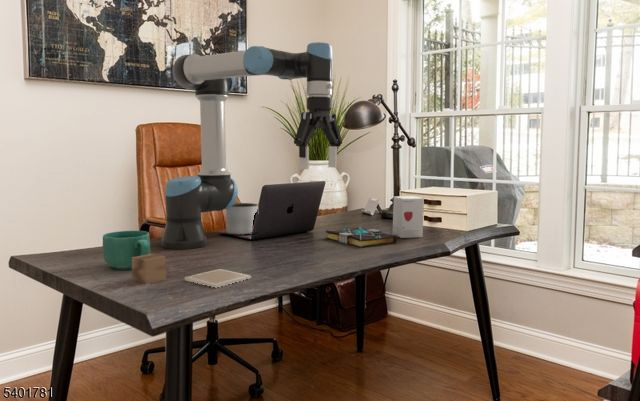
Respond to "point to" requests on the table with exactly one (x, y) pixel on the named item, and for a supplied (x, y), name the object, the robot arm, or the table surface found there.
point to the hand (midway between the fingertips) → (318, 168)
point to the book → (362, 237)
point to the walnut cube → (149, 268)
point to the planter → (240, 218)
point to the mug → (125, 247)
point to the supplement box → (408, 216)
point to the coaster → (217, 278)
